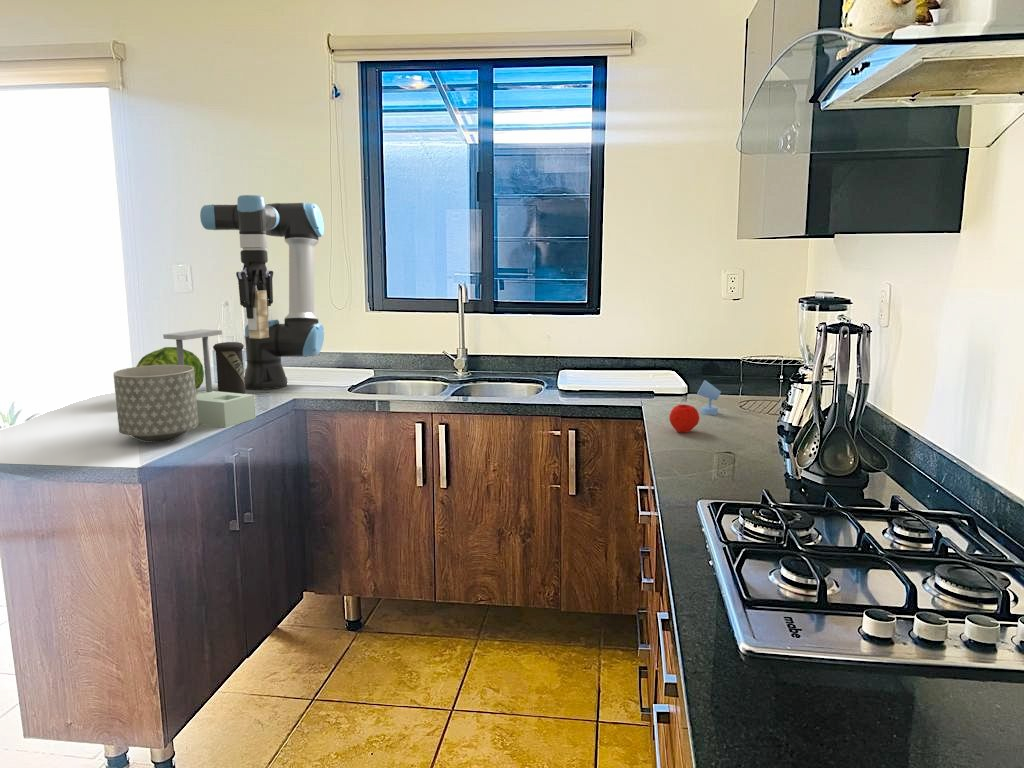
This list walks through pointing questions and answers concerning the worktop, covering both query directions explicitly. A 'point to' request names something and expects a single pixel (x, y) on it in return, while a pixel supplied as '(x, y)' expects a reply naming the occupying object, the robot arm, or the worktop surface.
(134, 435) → the planter
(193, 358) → the lettuce
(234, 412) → the socket station
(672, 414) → the apple
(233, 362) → the container
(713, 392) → the spotlight
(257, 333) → the peg
